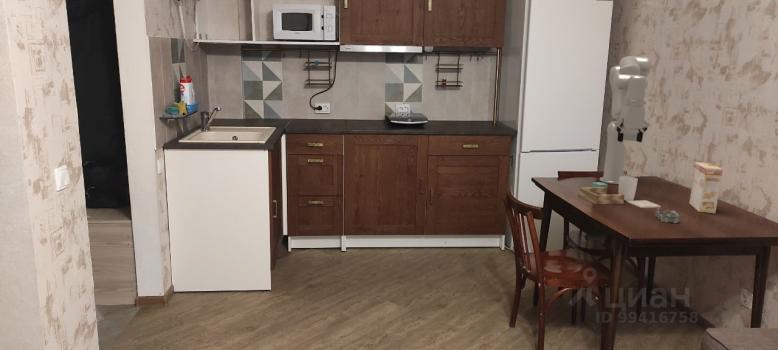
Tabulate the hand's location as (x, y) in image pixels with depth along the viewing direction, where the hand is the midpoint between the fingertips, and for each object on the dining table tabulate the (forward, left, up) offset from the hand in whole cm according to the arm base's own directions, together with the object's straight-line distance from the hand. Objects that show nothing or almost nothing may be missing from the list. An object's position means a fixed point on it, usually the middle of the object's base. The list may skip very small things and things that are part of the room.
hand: (629, 141), depth 270 cm
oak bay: (+12, +1, -27) cm, 29 cm away
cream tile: (-3, +11, -27) cm, 29 cm away
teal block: (+6, -10, -27) cm, 29 cm away
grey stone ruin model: (+2, +33, -27) cm, 43 cm away
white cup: (-1, +1, -27) cm, 27 cm away
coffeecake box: (-27, +19, -27) cm, 43 cm away
